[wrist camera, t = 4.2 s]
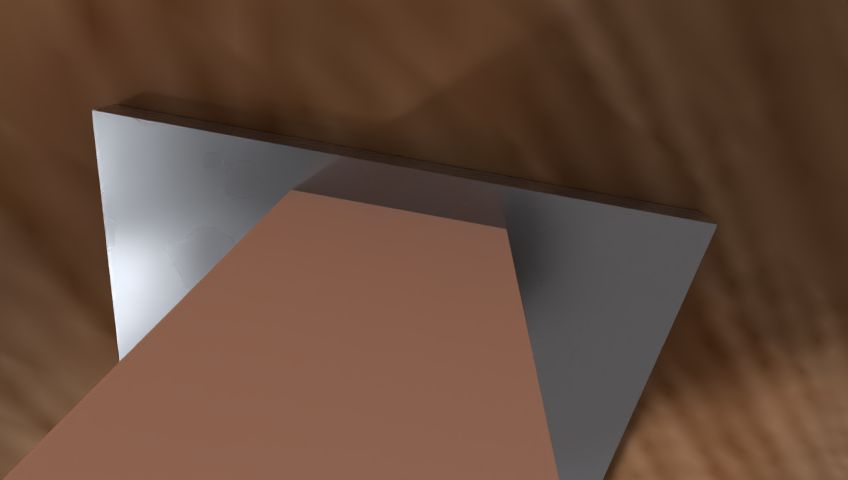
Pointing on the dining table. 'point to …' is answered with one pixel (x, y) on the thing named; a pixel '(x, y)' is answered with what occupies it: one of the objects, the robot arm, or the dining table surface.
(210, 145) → the pocket plate
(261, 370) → the terracotta block
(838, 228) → the dining table surface
